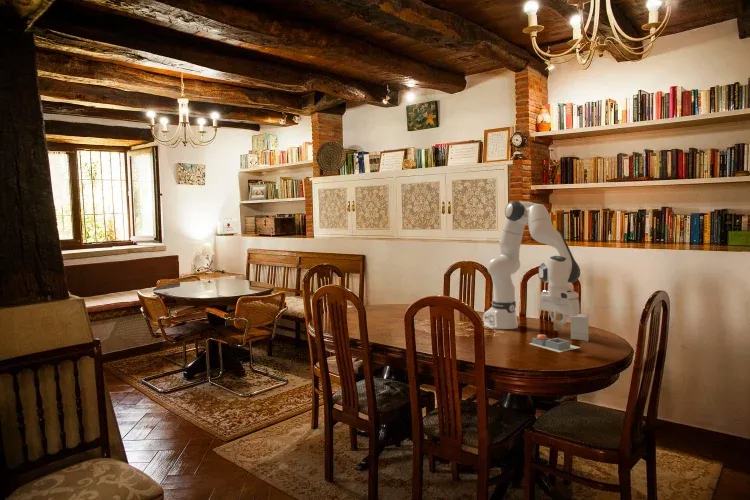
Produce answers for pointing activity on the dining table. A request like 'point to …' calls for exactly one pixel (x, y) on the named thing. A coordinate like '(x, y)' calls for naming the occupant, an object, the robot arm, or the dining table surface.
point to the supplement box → (579, 327)
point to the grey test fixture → (554, 344)
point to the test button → (541, 337)
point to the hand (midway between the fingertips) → (558, 322)
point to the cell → (558, 321)
